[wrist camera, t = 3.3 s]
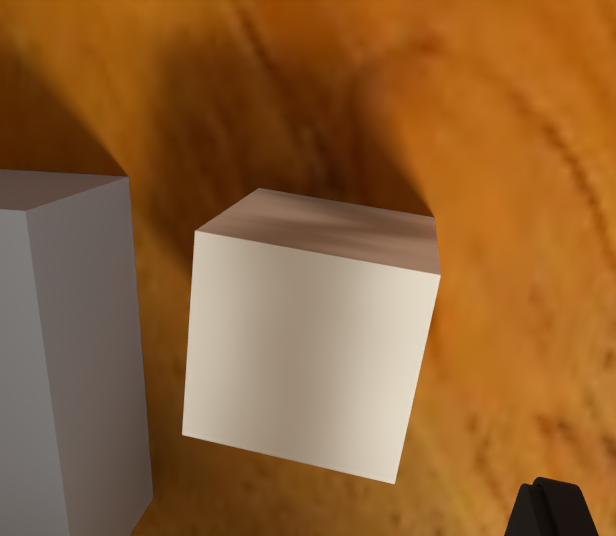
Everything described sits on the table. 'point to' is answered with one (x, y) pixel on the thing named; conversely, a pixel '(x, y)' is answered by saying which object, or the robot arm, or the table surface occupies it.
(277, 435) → the cream block
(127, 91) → the table surface
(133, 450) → the slate block
